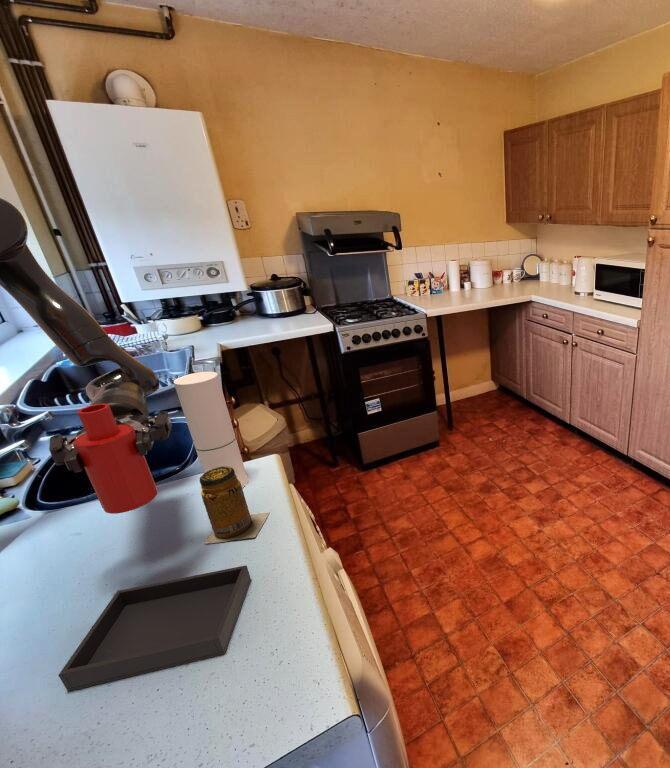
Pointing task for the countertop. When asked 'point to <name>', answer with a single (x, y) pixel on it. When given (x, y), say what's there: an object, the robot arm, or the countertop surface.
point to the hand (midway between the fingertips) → (109, 457)
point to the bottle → (113, 461)
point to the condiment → (228, 507)
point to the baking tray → (159, 627)
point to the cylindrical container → (210, 422)
